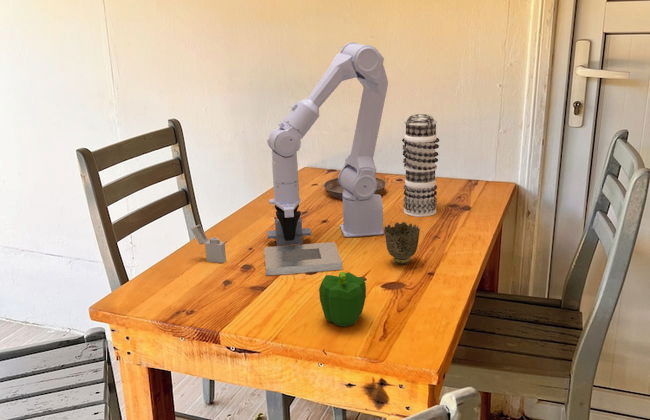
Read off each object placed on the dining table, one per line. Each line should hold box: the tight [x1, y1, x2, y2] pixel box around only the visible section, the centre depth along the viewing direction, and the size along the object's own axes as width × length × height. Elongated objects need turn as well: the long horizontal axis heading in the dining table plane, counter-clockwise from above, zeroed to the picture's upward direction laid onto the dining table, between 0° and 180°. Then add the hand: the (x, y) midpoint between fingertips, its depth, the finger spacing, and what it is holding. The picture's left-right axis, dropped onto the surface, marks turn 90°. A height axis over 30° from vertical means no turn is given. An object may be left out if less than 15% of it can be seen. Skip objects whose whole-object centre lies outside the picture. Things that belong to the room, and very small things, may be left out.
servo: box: [266, 216, 312, 246], centre depth 158 cm, size 10×4×6 cm, turn 96°
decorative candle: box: [401, 113, 440, 218], centre depth 172 cm, size 9×9×25 cm
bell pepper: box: [318, 271, 367, 327], centre depth 120 cm, size 8×8×10 cm
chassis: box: [263, 241, 343, 277], centre depth 147 cm, size 16×12×2 cm
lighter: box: [191, 223, 227, 264], centre depth 149 cm, size 7×2×8 cm, turn 70°
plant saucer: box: [323, 177, 387, 200], centre depth 193 cm, size 18×18×3 cm
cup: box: [383, 221, 421, 266], centre depth 144 cm, size 8×7×8 cm
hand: (289, 236), depth 158 cm, fingers closed on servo, 3 cm apart
